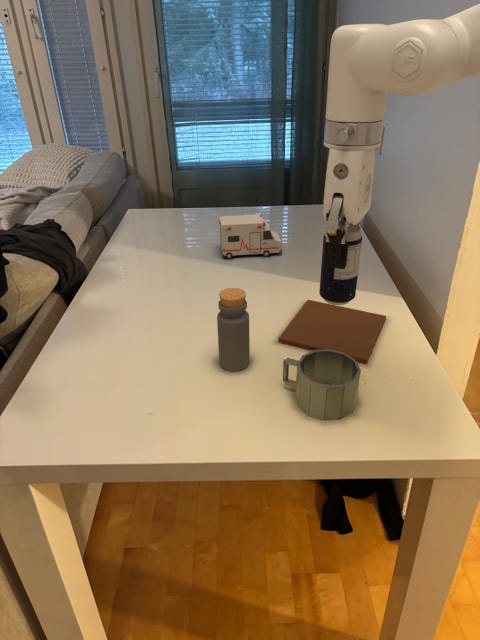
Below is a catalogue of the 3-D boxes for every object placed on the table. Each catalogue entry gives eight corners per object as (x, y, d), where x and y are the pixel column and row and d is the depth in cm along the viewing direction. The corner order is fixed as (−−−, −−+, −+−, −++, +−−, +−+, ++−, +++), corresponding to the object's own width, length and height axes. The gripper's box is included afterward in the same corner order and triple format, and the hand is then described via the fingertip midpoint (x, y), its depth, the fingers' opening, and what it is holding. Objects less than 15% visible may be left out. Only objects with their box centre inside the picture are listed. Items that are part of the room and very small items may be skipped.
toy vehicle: (282, 257, 132) (284, 223, 127) (222, 260, 131) (220, 226, 125) (276, 244, 140) (277, 212, 135) (219, 247, 139) (218, 215, 134)
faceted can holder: (361, 390, 82) (366, 358, 78) (346, 427, 74) (350, 393, 71) (292, 371, 87) (294, 340, 83) (271, 404, 79) (272, 371, 76)
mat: (385, 319, 102) (386, 315, 101) (366, 364, 88) (367, 360, 88) (307, 303, 109) (307, 299, 108) (278, 342, 95) (278, 338, 95)
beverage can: (356, 293, 76) (365, 222, 70) (352, 309, 72) (361, 235, 66) (322, 288, 78) (327, 219, 72) (315, 304, 73) (321, 232, 67)
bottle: (241, 350, 93) (240, 283, 85) (255, 366, 88) (254, 296, 81) (214, 358, 91) (210, 290, 83) (227, 375, 86) (224, 304, 78)
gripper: (366, 147, 54) (351, 286, 63) (393, 125, 67) (377, 243, 77) (305, 143, 57) (298, 277, 66) (342, 122, 70) (332, 236, 79)
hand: (340, 257), depth 71 cm, fingers closed on beverage can, 5 cm apart
